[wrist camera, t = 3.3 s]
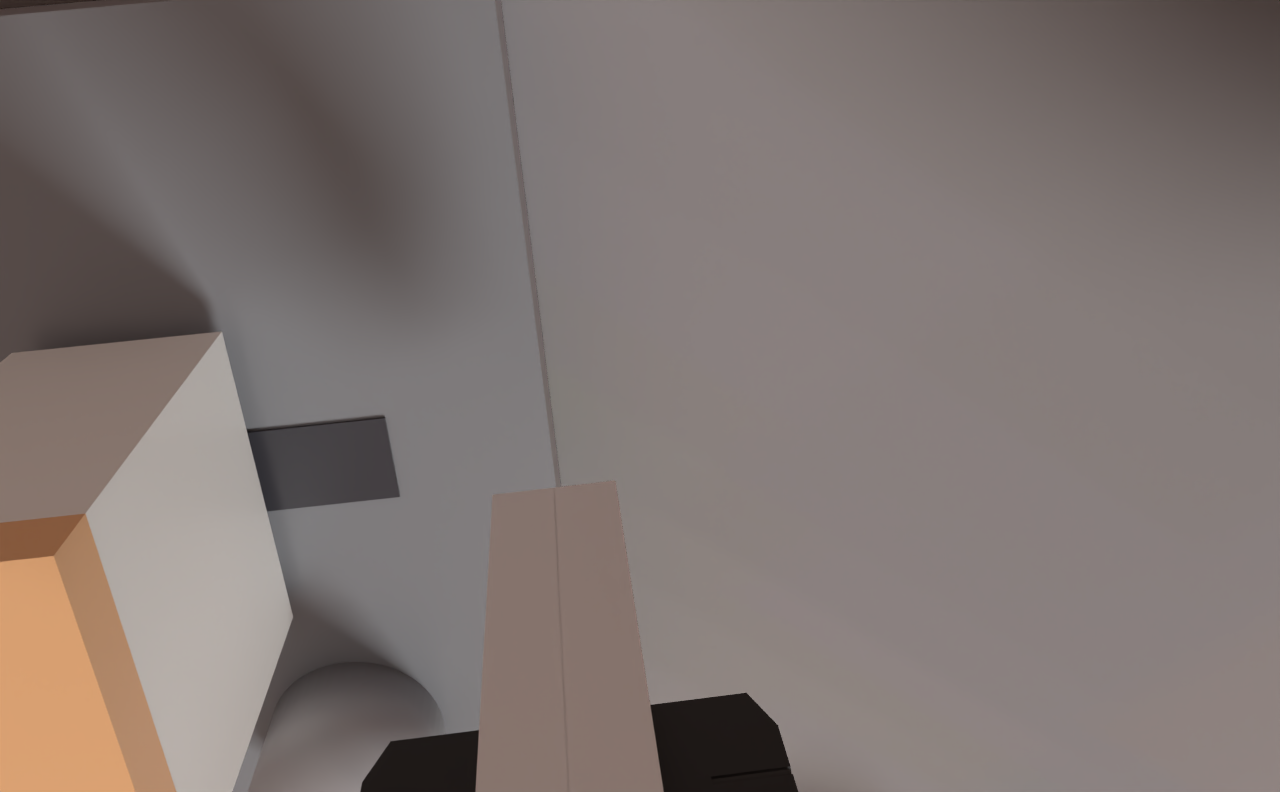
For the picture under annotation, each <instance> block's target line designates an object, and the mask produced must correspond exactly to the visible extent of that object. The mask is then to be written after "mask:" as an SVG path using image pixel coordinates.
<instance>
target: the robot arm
mask: <svg viewBox="0 0 1280 792" xmlns="http://www.w3.org/2000/svg"><path fill="white" fill-rule="evenodd" d="M360 792H798V790H797V786H796V783H795V780H794V777H793V774H791V768H790V764H789V760H788V757H787V754H786V751H785V747H784V744H783V741H782V738H781V734H780V731H779V728H778V725H777V724H776V723H775V722H774V721H773V720H772V719H771V718H770V717H769V716H768V715H767V714H766V713H765V712H764V711H763V710H762V709H761V708H760V706H759V705H758V704H757V703H756V702H755V701H754V700H753V699H752V698H751V697H750V696H749V695H748V694H747V693H742V694H734V695H726V696H718V697H710V698H702V699H694V700H686V701H678V702H670V703H662V704H655V705H650V700H649V694H648V687H647V681H646V674H645V668H644V662H643V655H642V649H641V642H640V636H639V629H638V623H637V617H636V610H635V604H634V597H633V591H632V584H631V578H630V571H629V565H628V559H627V552H626V546H625V539H624V533H623V526H622V520H621V513H620V507H619V501H618V494H617V488H616V481H607V482H598V483H590V484H581V485H572V486H564V487H555V488H546V489H538V490H529V491H520V492H512V493H503V494H494V495H492V512H491V530H490V547H489V565H488V582H487V600H486V617H485V634H484V652H483V669H482V687H481V704H480V722H479V730H476V731H468V732H460V733H452V734H444V735H436V736H428V737H420V738H412V739H405V740H397V741H390V743H389V744H388V746H387V747H386V749H385V750H384V751H383V753H382V754H381V756H380V757H379V759H378V760H377V761H376V763H375V764H374V766H373V767H372V769H371V770H370V772H369V773H368V774H367V776H366V777H365V779H364V780H363V782H362V785H361V791H360Z"/></svg>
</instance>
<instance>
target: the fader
mask: <svg viewBox="0 0 1280 792" xmlns="http://www.w3.org/2000/svg"><path fill="white" fill-rule="evenodd" d="M292 619H293V614H292V610H291V606H290V602H289V598H288V594H287V590H286V586H285V582H284V578H283V574H282V570H281V566H280V562H279V558H278V554H277V550H276V546H275V542H274V538H273V534H272V530H271V526H270V522H269V518H268V514H267V510H266V506H265V502H264V498H263V494H262V490H261V486H260V482H259V478H258V474H257V470H256V466H255V462H254V458H253V454H252V450H251V446H250V442H249V438H248V434H247V430H246V426H245V422H244V418H243V414H242V410H241V406H240V402H239V398H238V394H237V390H236V386H235V382H234V378H233V374H232V370H231V366H230V362H229V358H228V354H227V350H226V346H225V342H224V338H223V334H222V331H221V332H211V333H202V334H192V335H182V336H172V337H163V338H153V339H143V340H133V341H124V342H114V343H104V344H94V345H85V346H75V347H65V348H55V349H45V350H36V351H26V352H16V353H11V354H10V355H9V356H7V357H6V358H5V359H4V360H3V361H1V362H0V792H232V791H233V788H234V785H235V783H236V780H237V777H238V774H239V771H240V768H241V765H242V763H243V760H244V757H245V754H246V751H247V748H248V745H249V742H250V740H251V737H252V734H253V731H254V728H255V725H256V722H257V719H258V717H259V714H260V711H261V708H262V705H263V702H264V699H265V696H266V694H267V691H268V688H269V685H270V682H271V679H272V676H273V673H274V671H275V668H276V665H277V662H278V659H279V656H280V653H281V650H282V648H283V645H284V642H285V639H286V636H287V633H288V630H289V627H290V625H291V622H292Z"/></svg>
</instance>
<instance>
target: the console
mask: <svg viewBox="0 0 1280 792" xmlns="http://www.w3.org/2000/svg"><path fill="white" fill-rule="evenodd" d="M221 331H222V334H223V338H224V342H225V346H226V350H227V354H228V358H229V362H230V366H231V370H232V374H233V378H234V382H235V386H236V390H237V394H238V398H239V402H240V406H241V410H242V414H243V418H244V422H245V426H246V430H247V434H248V438H249V442H250V446H251V450H252V454H253V458H254V462H255V466H256V470H257V474H258V478H259V482H260V486H261V490H262V494H263V498H264V502H265V506H266V510H267V514H268V518H269V522H270V526H271V530H272V534H273V538H274V542H275V546H276V550H277V554H278V558H279V562H280V566H281V570H282V574H283V578H284V582H285V586H286V590H287V594H288V598H289V602H290V606H291V610H292V614H293V619H292V622H291V625H290V627H289V630H288V633H287V636H286V639H285V642H284V645H283V648H282V650H281V653H280V656H279V659H278V662H277V665H276V668H275V671H274V673H273V676H272V679H271V682H270V685H269V688H268V691H267V694H266V696H265V699H264V702H263V705H262V708H261V711H260V714H259V717H258V719H257V722H256V725H255V728H254V731H253V734H252V737H251V740H250V742H249V745H248V748H247V751H246V754H245V757H244V760H243V763H242V765H241V768H240V771H239V774H238V777H237V780H236V783H235V785H234V788H233V791H232V792H360V791H361V785H362V782H363V780H364V779H365V777H366V776H367V774H368V773H369V772H370V770H371V769H372V767H373V766H374V764H375V763H376V761H377V760H378V759H379V757H380V756H381V754H382V753H383V751H384V750H385V749H386V747H387V746H388V744H389V743H390V741H397V740H405V739H412V738H420V737H428V736H436V735H444V734H452V733H460V732H468V731H476V730H479V722H480V704H481V687H482V669H483V652H484V634H485V617H486V600H487V582H488V565H489V547H490V530H491V512H492V495H494V494H503V493H512V492H520V491H529V490H538V489H546V488H555V487H561V481H560V473H559V464H558V456H557V448H556V440H555V432H554V424H553V416H552V408H551V400H550V392H549V384H548V376H547V368H546V359H545V351H544V343H543V335H542V327H541V319H540V311H539V303H538V295H537V287H536V279H535V271H534V263H533V255H532V246H531V238H530V230H529V222H528V214H527V206H526V198H525V190H524V182H523V174H522V166H521V158H520V150H519V141H518V133H517V125H516V117H515V109H514V101H513V93H512V85H511V77H510V69H509V61H508V53H507V45H506V37H505V28H504V20H503V12H502V4H501V0H96V1H85V2H74V3H62V4H51V5H40V6H29V7H18V8H7V9H0V362H1V361H3V360H4V359H5V358H6V357H7V356H9V355H10V354H11V353H16V352H26V351H36V350H45V349H55V348H65V347H75V346H85V345H94V344H104V343H114V342H124V341H133V340H143V339H153V338H163V337H172V336H182V335H192V334H202V333H211V332H221Z"/></svg>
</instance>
